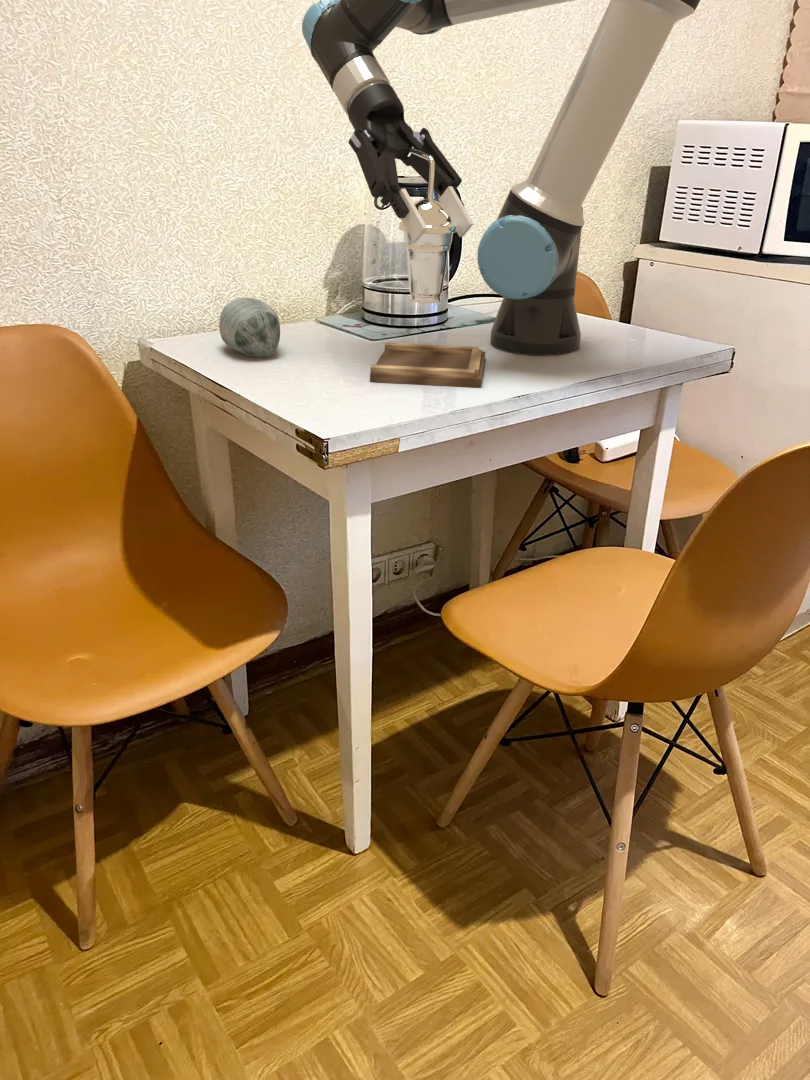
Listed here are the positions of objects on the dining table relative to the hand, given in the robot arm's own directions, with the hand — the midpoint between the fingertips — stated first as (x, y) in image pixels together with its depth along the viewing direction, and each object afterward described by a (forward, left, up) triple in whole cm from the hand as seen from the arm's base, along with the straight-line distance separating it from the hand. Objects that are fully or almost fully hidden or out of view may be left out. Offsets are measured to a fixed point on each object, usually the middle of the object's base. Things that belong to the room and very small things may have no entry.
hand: (444, 232), depth 114 cm
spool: (+32, -8, -20) cm, 38 cm away
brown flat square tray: (+2, -2, -20) cm, 20 cm away
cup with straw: (+3, -2, -10) cm, 10 cm away
